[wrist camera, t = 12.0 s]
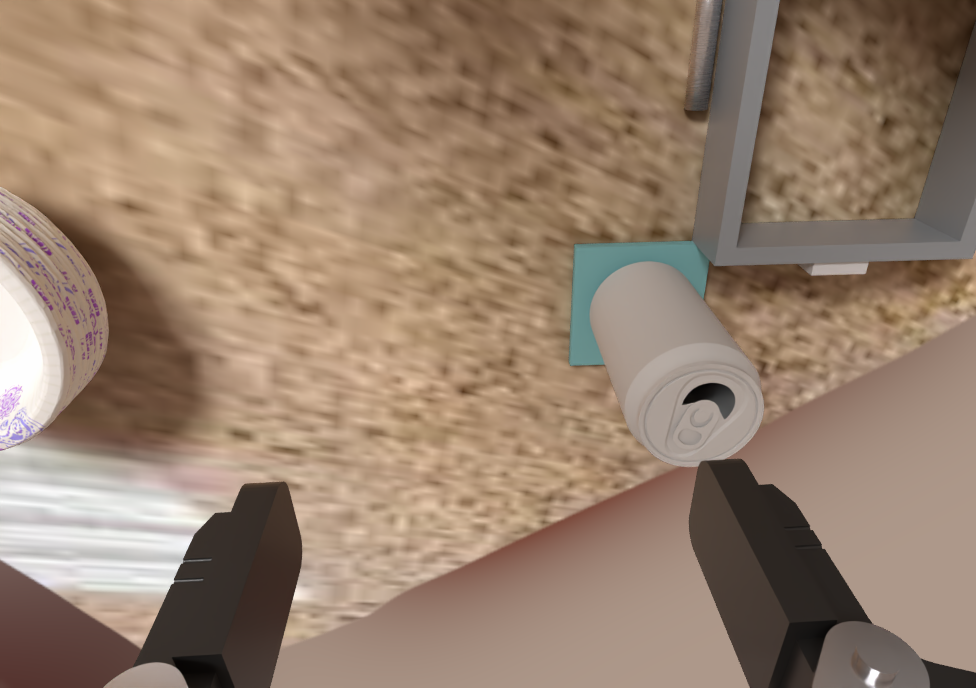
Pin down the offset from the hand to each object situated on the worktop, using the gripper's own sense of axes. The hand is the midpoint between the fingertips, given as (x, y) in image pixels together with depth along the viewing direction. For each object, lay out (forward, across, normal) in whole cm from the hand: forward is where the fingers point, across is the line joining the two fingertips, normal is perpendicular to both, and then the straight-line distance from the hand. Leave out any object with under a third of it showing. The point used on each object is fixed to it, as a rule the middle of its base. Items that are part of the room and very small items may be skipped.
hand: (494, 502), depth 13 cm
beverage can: (+25, -10, +9) cm, 29 cm away
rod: (+25, -12, -7) cm, 29 cm away
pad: (+26, -10, +9) cm, 29 cm away
